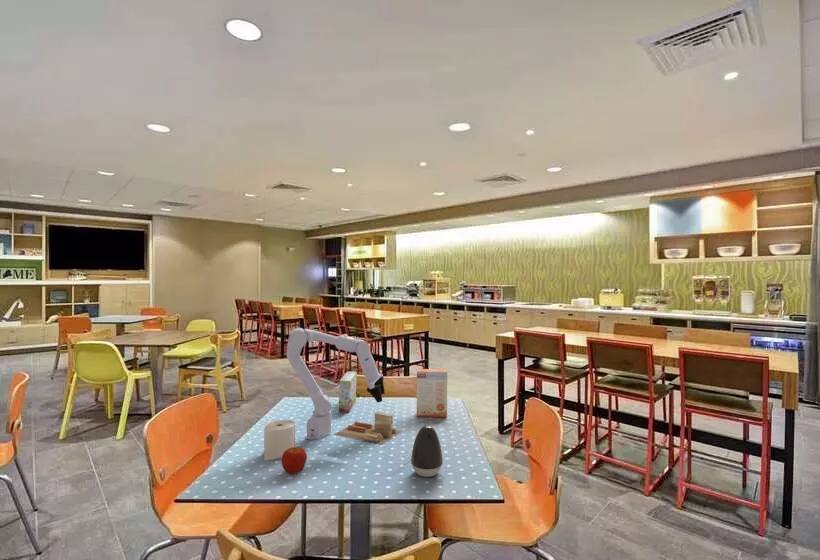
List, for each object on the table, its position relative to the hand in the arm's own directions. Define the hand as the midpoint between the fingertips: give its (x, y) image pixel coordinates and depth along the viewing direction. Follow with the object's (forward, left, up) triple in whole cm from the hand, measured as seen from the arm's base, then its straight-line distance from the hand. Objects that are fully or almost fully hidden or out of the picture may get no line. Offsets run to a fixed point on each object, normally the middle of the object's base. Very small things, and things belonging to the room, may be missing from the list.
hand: (381, 397), depth 171 cm
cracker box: (+29, -10, -14) cm, 34 cm away
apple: (-45, +6, -14) cm, 48 cm away
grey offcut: (-12, -4, -12) cm, 18 cm away
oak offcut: (-12, -4, -11) cm, 17 cm away
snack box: (+22, +32, -14) cm, 41 cm away
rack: (-7, +2, -14) cm, 15 cm away
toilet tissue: (-37, +20, -14) cm, 44 cm away
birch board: (-5, -4, -12) cm, 14 cm away
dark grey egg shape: (-26, -32, -14) cm, 44 cm away
